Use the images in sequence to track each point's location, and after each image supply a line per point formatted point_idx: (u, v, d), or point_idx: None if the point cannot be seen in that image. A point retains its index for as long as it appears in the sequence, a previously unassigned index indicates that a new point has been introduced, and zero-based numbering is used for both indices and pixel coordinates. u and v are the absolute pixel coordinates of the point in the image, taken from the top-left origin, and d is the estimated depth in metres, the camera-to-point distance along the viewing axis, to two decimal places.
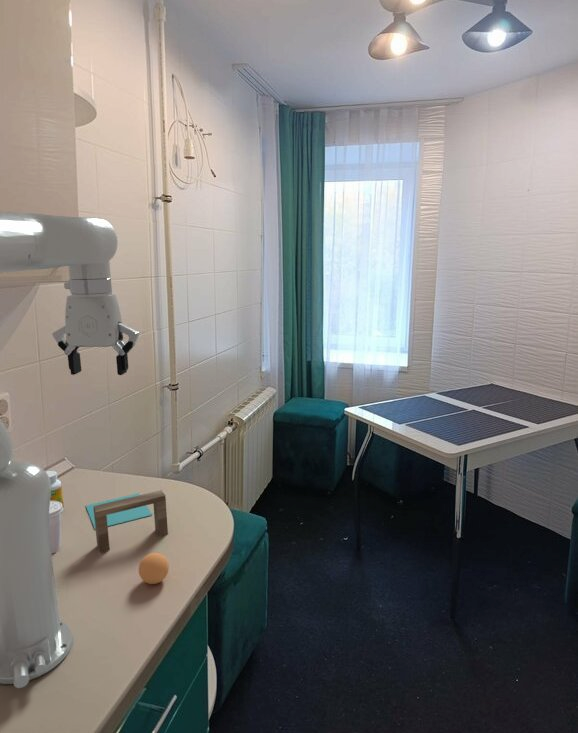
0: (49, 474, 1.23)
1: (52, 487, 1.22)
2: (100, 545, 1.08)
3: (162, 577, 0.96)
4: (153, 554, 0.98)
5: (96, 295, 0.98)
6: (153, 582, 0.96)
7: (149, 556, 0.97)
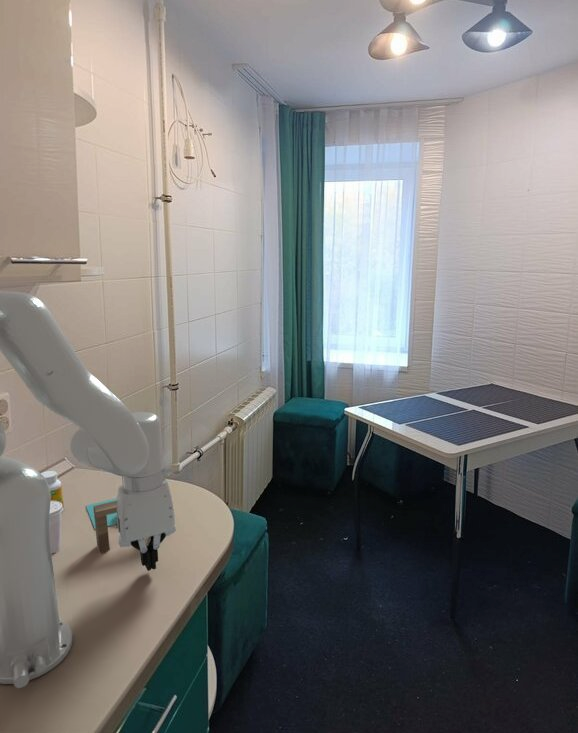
0: (49, 474, 1.23)
1: (52, 487, 1.22)
2: (100, 545, 1.08)
3: None
4: None
5: None
6: None
7: None
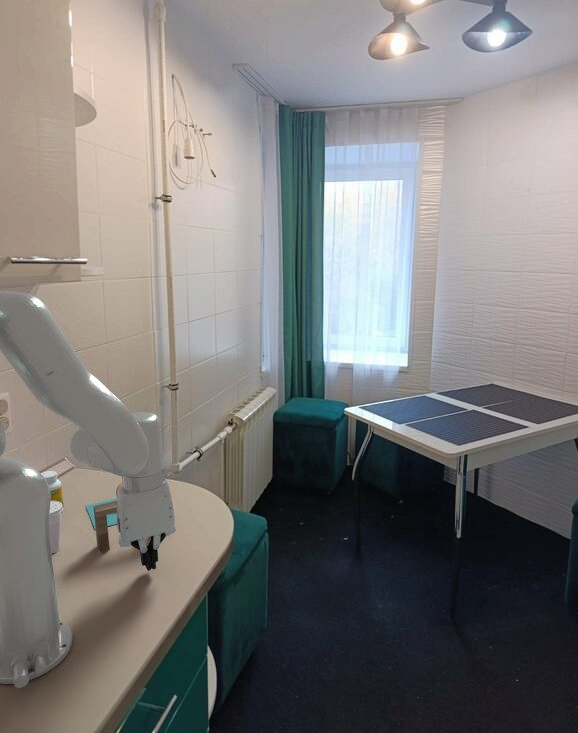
0: (49, 474, 1.23)
1: (52, 487, 1.22)
2: (100, 545, 1.08)
3: None
4: None
5: None
6: None
7: None
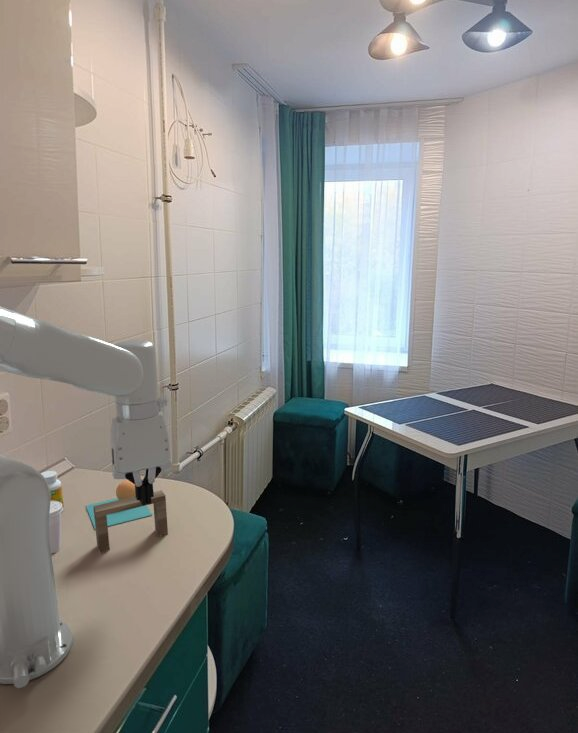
0: (49, 474, 1.23)
1: (52, 487, 1.22)
2: (100, 545, 1.08)
3: (133, 496, 1.28)
4: (127, 480, 1.30)
5: None
6: None
7: (123, 481, 1.29)
